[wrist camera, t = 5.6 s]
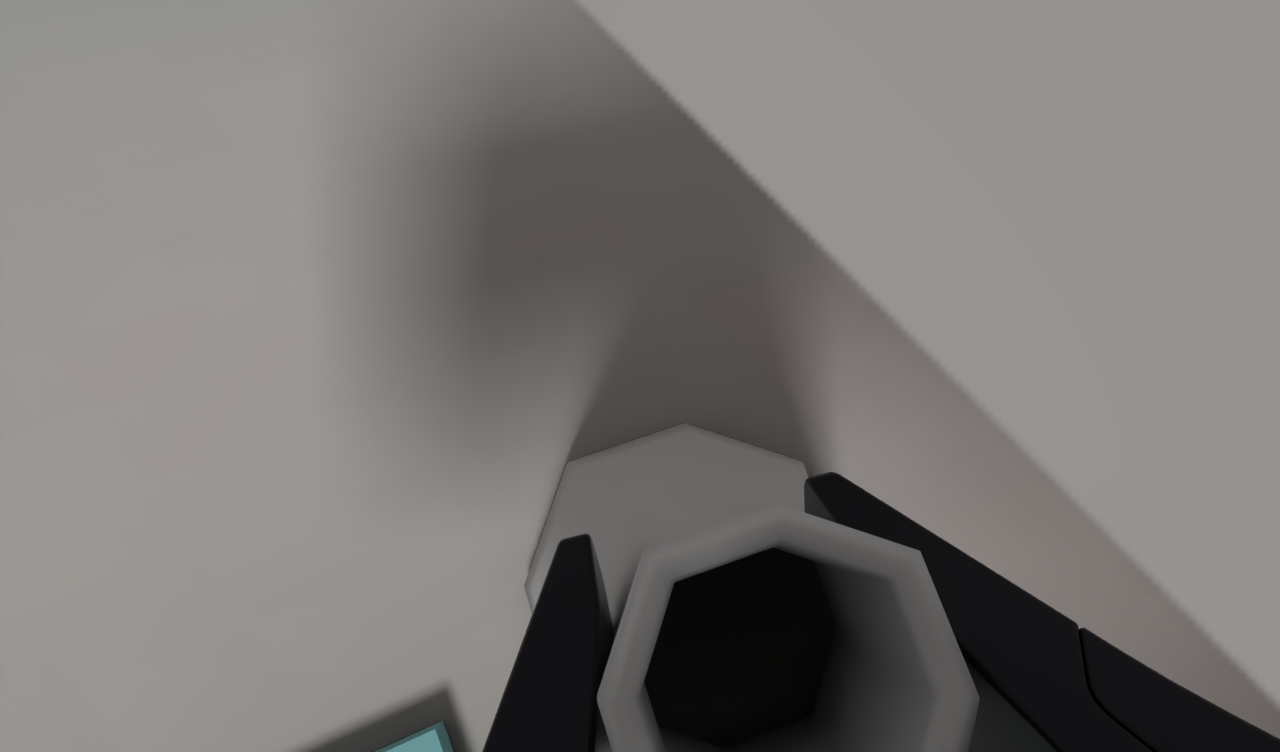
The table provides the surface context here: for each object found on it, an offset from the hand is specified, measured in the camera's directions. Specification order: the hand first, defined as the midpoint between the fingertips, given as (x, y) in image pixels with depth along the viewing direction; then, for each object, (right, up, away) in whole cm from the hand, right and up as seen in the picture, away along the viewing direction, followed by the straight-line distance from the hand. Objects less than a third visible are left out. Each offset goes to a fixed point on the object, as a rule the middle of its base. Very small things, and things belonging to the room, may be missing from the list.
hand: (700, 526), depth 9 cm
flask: (0, -3, +6) cm, 7 cm away
